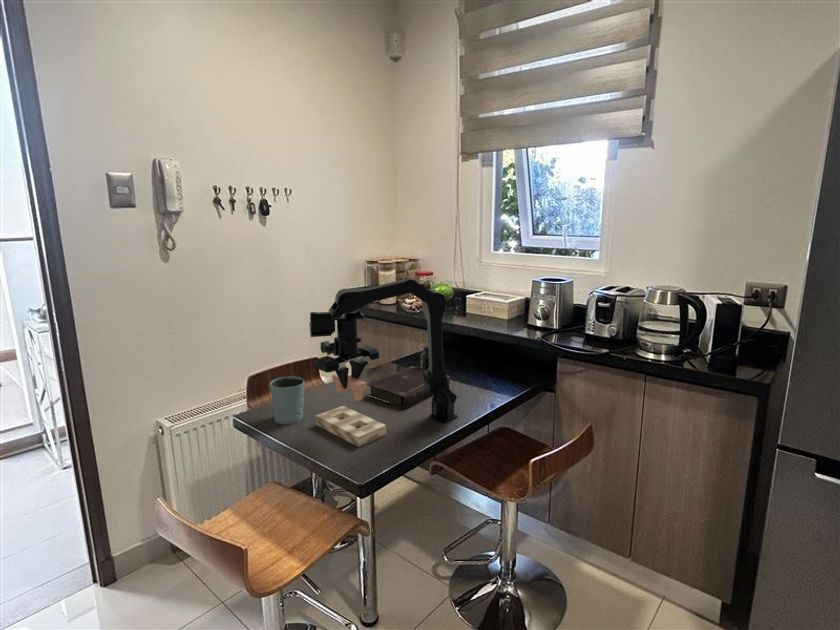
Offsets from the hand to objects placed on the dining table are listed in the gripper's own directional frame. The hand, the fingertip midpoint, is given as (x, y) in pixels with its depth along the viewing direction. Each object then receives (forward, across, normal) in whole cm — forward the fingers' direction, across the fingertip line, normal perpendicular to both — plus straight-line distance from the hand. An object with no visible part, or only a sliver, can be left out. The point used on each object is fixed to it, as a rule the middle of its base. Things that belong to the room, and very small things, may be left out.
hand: (349, 386), depth 141 cm
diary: (+14, -33, -9) cm, 37 cm away
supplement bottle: (+13, -49, -14) cm, 52 cm away
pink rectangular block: (+2, 0, 0) cm, 2 cm away
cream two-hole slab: (+13, 0, 0) cm, 13 cm away
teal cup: (+14, +8, -20) cm, 25 cm away
